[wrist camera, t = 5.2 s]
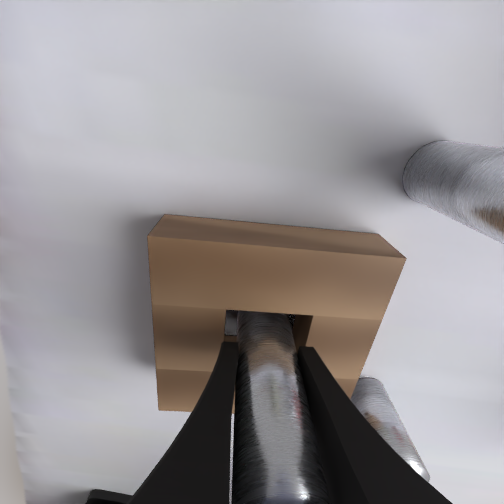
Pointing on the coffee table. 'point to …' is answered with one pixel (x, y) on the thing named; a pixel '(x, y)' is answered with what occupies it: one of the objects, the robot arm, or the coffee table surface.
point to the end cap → (107, 497)
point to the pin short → (386, 421)
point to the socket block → (262, 294)
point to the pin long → (460, 183)
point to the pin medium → (273, 418)
